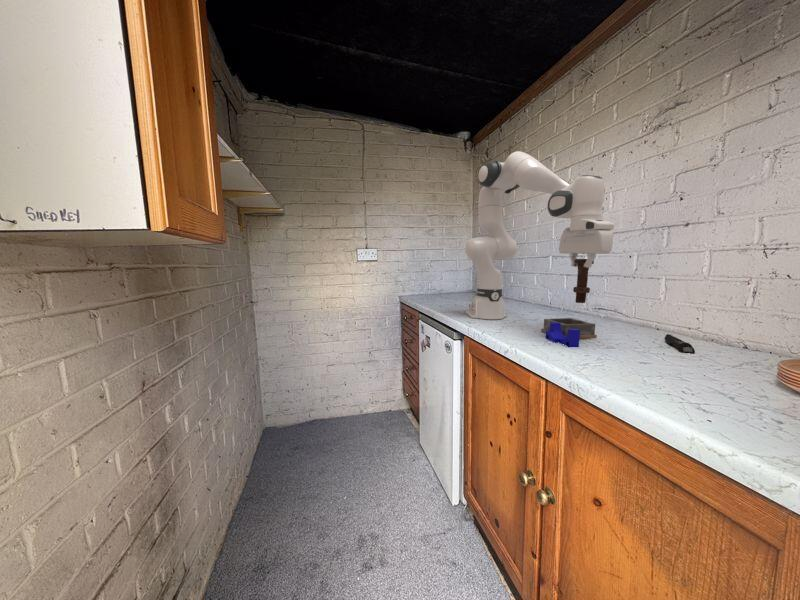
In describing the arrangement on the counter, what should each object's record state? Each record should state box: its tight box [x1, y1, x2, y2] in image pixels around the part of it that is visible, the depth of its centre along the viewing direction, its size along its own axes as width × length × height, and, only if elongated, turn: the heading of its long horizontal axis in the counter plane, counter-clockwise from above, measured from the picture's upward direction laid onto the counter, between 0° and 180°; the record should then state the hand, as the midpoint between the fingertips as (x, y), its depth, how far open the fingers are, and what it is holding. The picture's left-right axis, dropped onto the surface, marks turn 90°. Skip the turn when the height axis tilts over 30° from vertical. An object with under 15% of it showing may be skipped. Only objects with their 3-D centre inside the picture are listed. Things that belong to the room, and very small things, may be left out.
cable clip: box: [544, 322, 580, 348], centre depth 104 cm, size 12×4×6 cm, turn 4°
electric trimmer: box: [664, 333, 696, 355], centre depth 100 cm, size 4×16×3 cm, turn 156°
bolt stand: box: [541, 317, 598, 340], centre depth 115 cm, size 13×13×5 cm
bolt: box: [572, 258, 595, 304], centre depth 105 cm, size 6×5×15 cm
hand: (580, 267), depth 105 cm, fingers closed on bolt, 4 cm apart
